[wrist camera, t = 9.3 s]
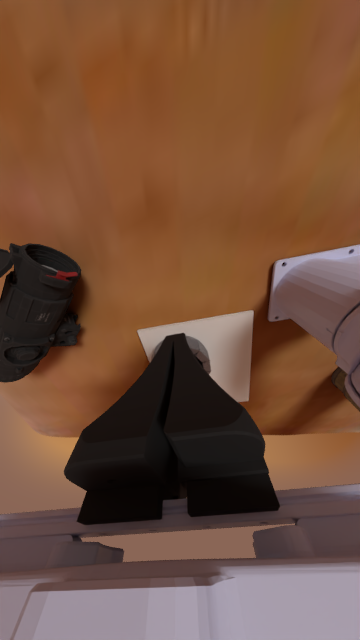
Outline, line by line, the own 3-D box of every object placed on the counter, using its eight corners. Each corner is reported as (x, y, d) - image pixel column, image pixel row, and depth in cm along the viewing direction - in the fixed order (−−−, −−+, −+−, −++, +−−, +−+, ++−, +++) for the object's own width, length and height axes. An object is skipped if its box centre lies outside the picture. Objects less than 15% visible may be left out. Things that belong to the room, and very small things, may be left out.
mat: (252, 310, 21) (253, 311, 20) (247, 398, 31) (248, 400, 30) (137, 329, 22) (137, 331, 22) (169, 409, 32) (168, 410, 32)
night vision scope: (50, 341, 26) (-60, 342, 18) (95, 249, 19) (-44, 186, 11) (57, 384, 22) (-76, 410, 14) (117, 289, 16) (-66, 238, 8)
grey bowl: (204, 330, 22) (207, 342, 20) (209, 371, 26) (212, 385, 24) (145, 340, 23) (142, 352, 20) (160, 378, 27) (159, 392, 25)
